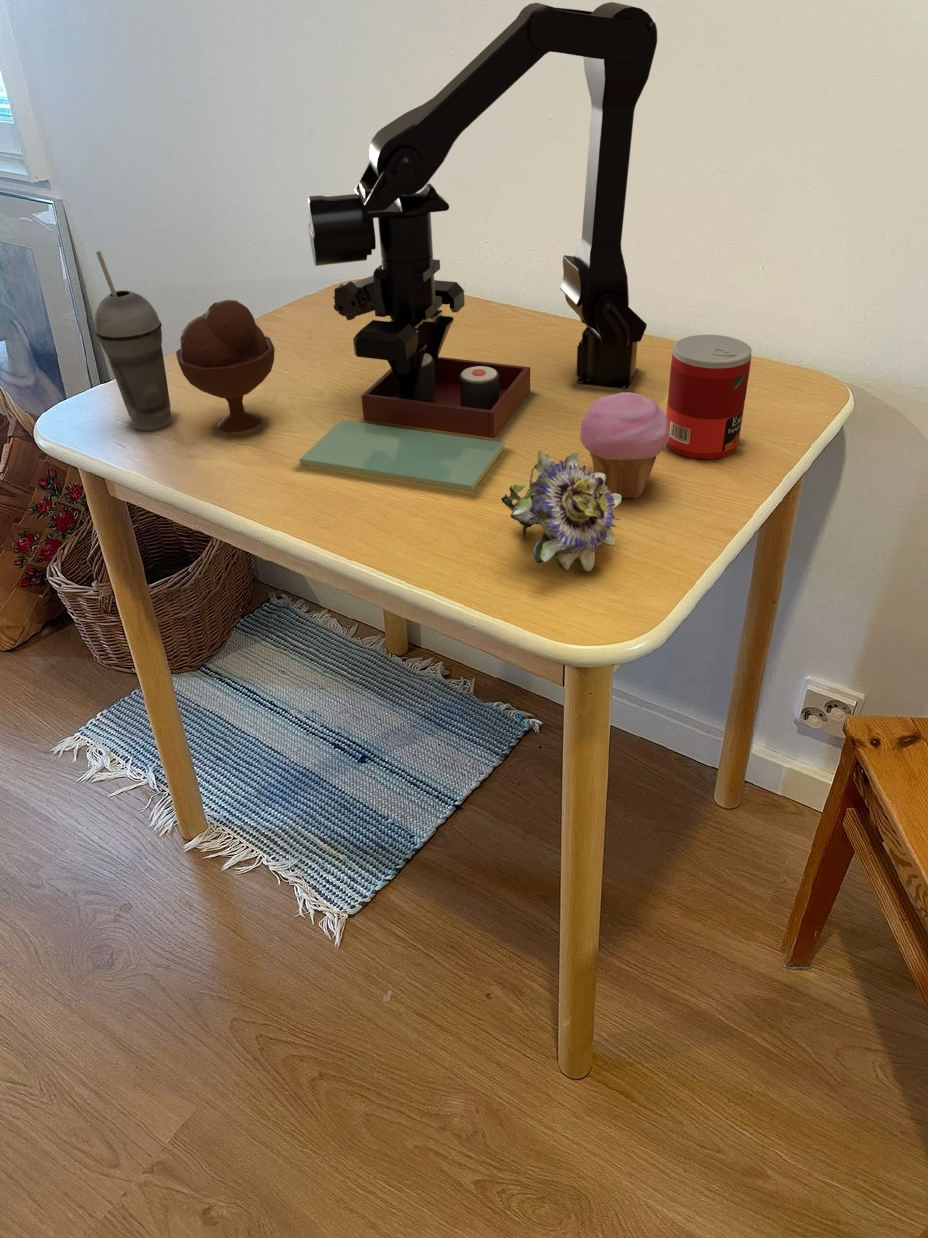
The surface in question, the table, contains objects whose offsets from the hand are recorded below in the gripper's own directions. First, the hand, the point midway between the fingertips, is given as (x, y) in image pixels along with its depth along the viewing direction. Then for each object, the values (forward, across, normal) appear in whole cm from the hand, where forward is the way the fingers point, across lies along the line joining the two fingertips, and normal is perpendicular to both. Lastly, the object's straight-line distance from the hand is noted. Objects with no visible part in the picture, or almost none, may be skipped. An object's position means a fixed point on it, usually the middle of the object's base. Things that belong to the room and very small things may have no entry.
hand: (416, 388), depth 115 cm
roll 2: (+2, 0, +8) cm, 8 cm away
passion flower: (+2, +26, +25) cm, 36 cm away
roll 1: (+1, 0, 0) cm, 1 cm away
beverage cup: (+2, +14, -29) cm, 32 cm away
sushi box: (+2, 0, +4) cm, 5 cm away
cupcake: (+2, +12, +28) cm, 31 cm away
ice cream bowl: (+2, +12, -18) cm, 21 cm away
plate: (+2, +14, +4) cm, 14 cm away
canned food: (+2, 0, +34) cm, 34 cm away
